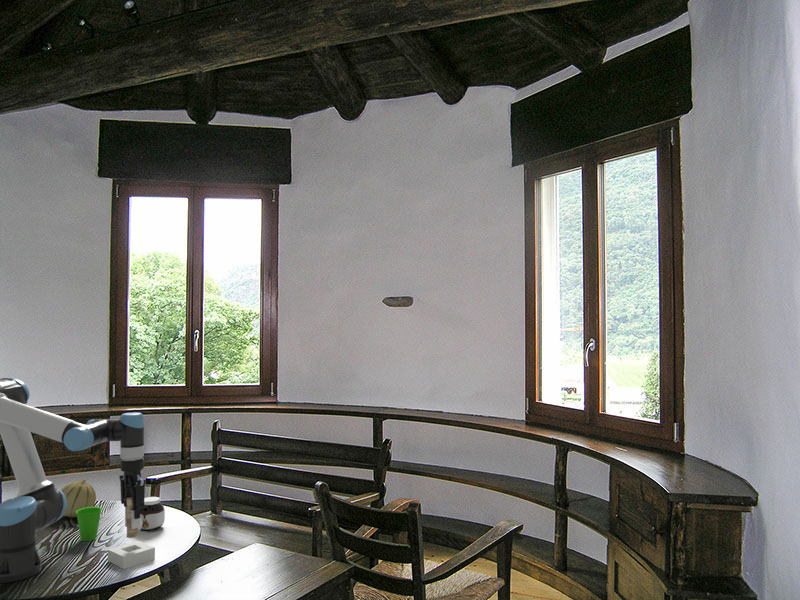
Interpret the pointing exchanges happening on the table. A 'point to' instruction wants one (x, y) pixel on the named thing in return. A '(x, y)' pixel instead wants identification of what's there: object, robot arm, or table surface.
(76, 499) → the cantaloupe
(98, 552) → the table surface
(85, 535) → the cup
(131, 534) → the peg
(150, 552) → the socket block
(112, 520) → the table surface
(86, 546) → the table surface
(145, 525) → the spread jar
